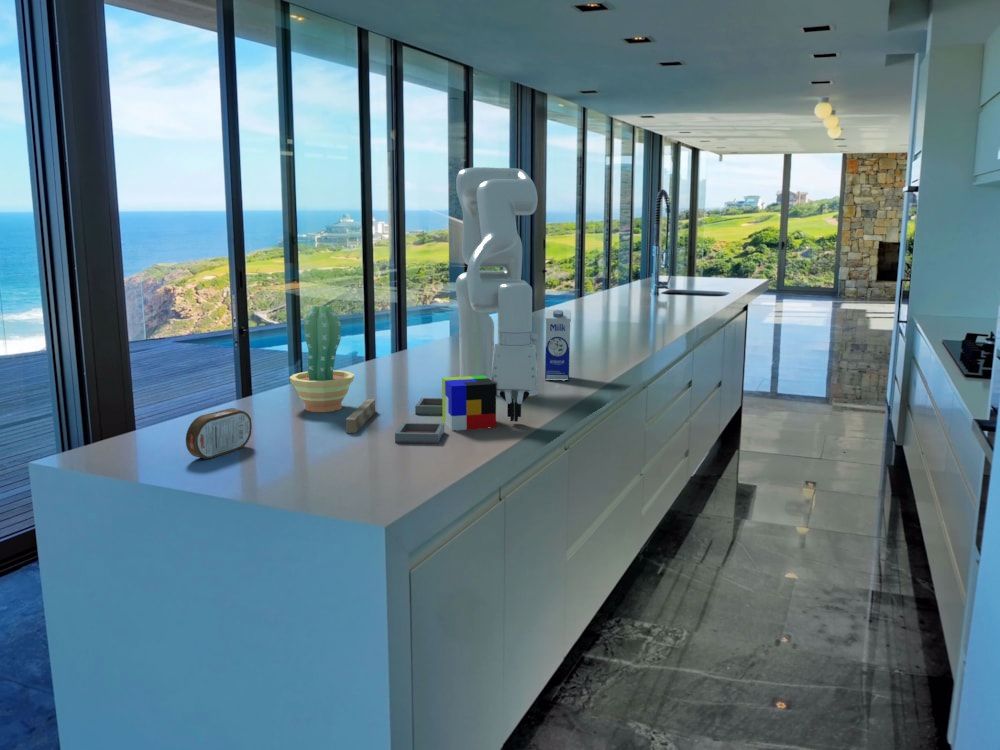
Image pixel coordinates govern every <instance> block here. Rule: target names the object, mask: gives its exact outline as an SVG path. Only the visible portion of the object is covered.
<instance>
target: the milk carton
mask: <svg viewBox="0 0 1000 750" xmlns="http://www.w3.org/2000/svg"><path fill="white" fill-rule="evenodd" d="M571 323H572V310H571V309H553V308H552V309H550V308H549V309H548V308H547V309H546V311H545V352H544V353H545V359H544V361H545V364H544V370H545V371H544V372H545V373H544V380H545V379H569V380H570V361H571V360H570V357H571V356H570V353H571V351H570V350H571V344H570V343H571Z"/></svg>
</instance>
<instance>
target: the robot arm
mask: <svg viewBox="0 0 1000 750" xmlns="http://www.w3.org/2000/svg"><path fill="white" fill-rule="evenodd" d="M455 179H456V181H455V182H456V183H455V188H456V193H457V198H458V200H459V203H460V204H459V205H460V207H461V210H462V236H461V237H462V239H461V240H462V243H461V244H462V245H461V250H462V251H461V253H462V255H461V256H462V259H463V262H464V264H465V265H467V269H466V271H465V272H462V273H461V274H459V275H458V276H457V278H456V280H455V288H454V289H455V294H456V300H457V302H456V303H457V307H458V330H459V331H458V332H459V333H458V335H459V338H458V339H459V349H458V351H459V377H466V376H486V377H487V378H489V379H490V380H491V381H492V383H495V384H496V396H500V397H501V398H502V400H504V401H505V403H507V418H510V422H518V421H519V418H522V403H523V402H524V401H525V400H526V399H527V398H528V397H533V396H536V395H538V394H539V388H538V377H539V376H538V375H539V374H538V355H537V354H538V353H537V347H536V345H535V344H534V343H533V342H535V341H539V334H538V333H534V332H533V288H532V286H531V285H530V284H529V283H528V282H527V281H525V280H524V279H522V268H523V267H522V266H523V243H522V240H521V236H520V235H519V234H518V229H517V222H516V221H517V219H516V216H529V215H530V216H531V215H533V214H534V213H535V211H536V210H537V207H538V191H537V188H536V186H535V182H534V181H533V179H531V177H530V176H529V175H528V174H527V172H526V171H524V170H523V169H521V168H517V167H516V168H513V167H489V166H488V167H485V166H484V167H482V166H481V167H480V166H479V167H476V166H475V167H468V168H467V167H466V168H463V169H461V170H459V172H458V173H457V175H456V178H455ZM481 268H503V270H480V269H481ZM494 313H495V314H497V343H495V323H494V320H493V318H492V316H491V315H490V314H494ZM512 391H517V397H516V399H515V401H514V398H513V396H512Z"/></svg>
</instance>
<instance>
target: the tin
mask: <svg viewBox="0 0 1000 750" xmlns="http://www.w3.org/2000/svg"><path fill="white" fill-rule="evenodd" d="M190 423H191V424H190V425H189V427H188V429H187V431H186V435H185V445H186V449H187V452H189V454H190V455H191V456H193V457H195V458H200V459H204V460H205V459H206V460H208V459H209V458H210V459H214V458H216V456H217V457H220V456H222V455H226V454H229V453H232V452H235V450H236V451H238V449H239V450H240V449H243V448H244V447H245V446H246V445H247V443H248V442H249V440H250V438H251V436H252V430H253V429H252V427H253V425H252V418H251V417H250V415H249V413H248V412H246V411H243V410H241V409H238V408H234V407H230V408H225V409H222V410H218V411H213V412H210V413H206V414H203V415H199V416H198V417H196V418H195V419H194V420H193V421H192V422H190ZM219 455H220V456H219ZM213 457H214V458H213ZM210 459H209V460H210Z"/></svg>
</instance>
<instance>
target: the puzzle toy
mask: <svg viewBox="0 0 1000 750" xmlns="http://www.w3.org/2000/svg"><path fill="white" fill-rule="evenodd" d="M441 383H442V384H441V385H442V386H441V389H442V391H441V393H442V394H441V395H442V396H441V398H442V411H443V415H442V421H443V422H444V424H445V425H446V426H447V427H448V428H449V430H450V431H452V432H453V431H454V430H456V431H466V430H467V431H468V429H471V430H478V429H477V428H486V429H489V428H488V427H496V428H497V395H496V384H495V383H492V381H491V380H490V379H489V378H487V377H486V376H466V377H460V376H453V377H451V376H450V377H442V378H441ZM454 432H455V431H454Z"/></svg>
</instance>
